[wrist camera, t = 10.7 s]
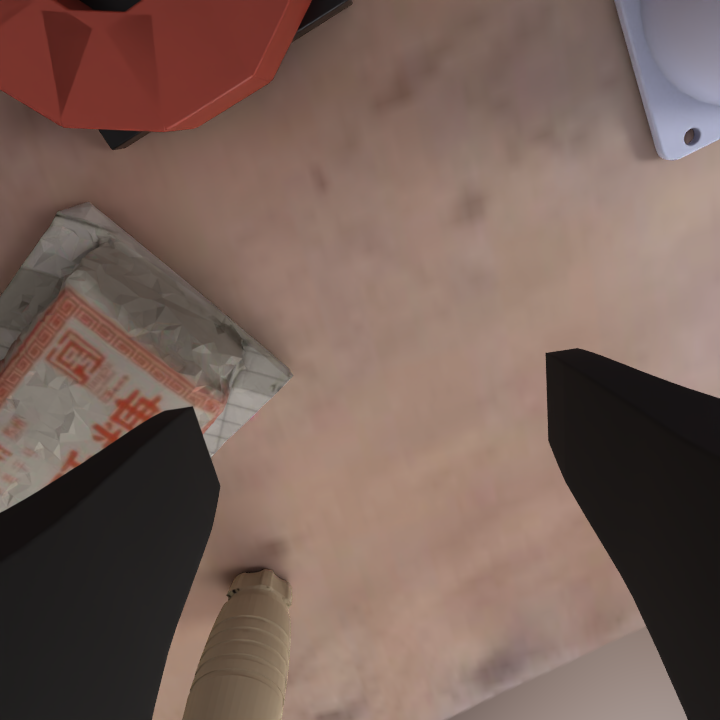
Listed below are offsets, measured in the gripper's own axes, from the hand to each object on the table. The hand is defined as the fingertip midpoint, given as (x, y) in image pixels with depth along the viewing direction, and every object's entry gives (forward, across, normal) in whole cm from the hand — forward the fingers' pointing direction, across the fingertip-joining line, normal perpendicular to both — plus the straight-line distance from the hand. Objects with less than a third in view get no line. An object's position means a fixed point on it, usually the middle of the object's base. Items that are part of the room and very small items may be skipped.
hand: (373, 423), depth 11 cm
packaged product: (+11, +14, +4) cm, 18 cm away
